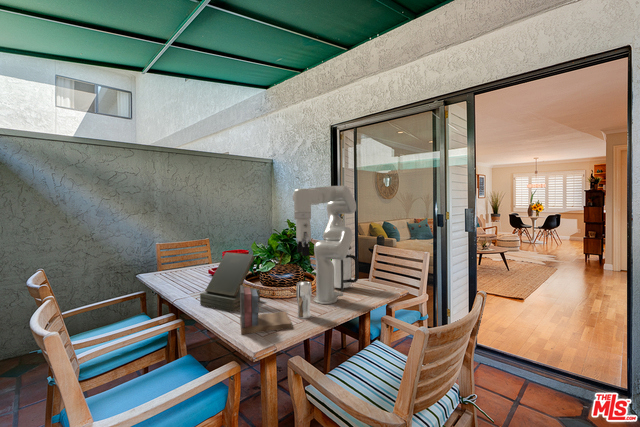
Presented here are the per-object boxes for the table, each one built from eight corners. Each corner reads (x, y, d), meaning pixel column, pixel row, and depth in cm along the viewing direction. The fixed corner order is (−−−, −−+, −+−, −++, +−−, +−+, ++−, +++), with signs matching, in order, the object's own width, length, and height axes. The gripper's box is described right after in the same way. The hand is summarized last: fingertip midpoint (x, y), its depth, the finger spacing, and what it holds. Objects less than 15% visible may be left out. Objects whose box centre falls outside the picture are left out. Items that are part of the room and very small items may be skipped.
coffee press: (328, 292, 171) (328, 240, 170) (328, 284, 187) (328, 237, 186) (358, 292, 171) (358, 240, 170) (356, 285, 187) (356, 237, 186)
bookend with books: (285, 315, 135) (285, 280, 135) (291, 327, 122) (291, 289, 122) (240, 321, 130) (239, 284, 129) (241, 334, 116) (240, 293, 116)
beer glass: (303, 312, 140) (303, 280, 139) (315, 315, 135) (314, 282, 135) (293, 316, 134) (292, 283, 134) (304, 320, 130) (304, 286, 130)
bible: (200, 305, 151) (199, 256, 151) (228, 295, 169) (227, 251, 168) (233, 312, 141) (233, 260, 140) (260, 300, 158) (259, 254, 157)
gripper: (315, 216, 126) (316, 256, 127) (306, 215, 143) (306, 250, 143) (298, 217, 124) (299, 257, 125) (290, 215, 141) (291, 251, 141)
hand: (303, 254), depth 134 cm, fingers open, 9 cm apart
